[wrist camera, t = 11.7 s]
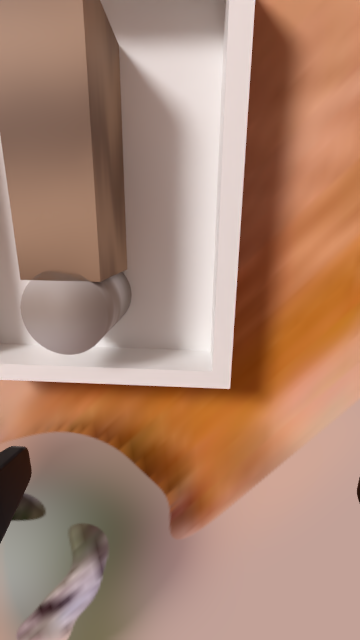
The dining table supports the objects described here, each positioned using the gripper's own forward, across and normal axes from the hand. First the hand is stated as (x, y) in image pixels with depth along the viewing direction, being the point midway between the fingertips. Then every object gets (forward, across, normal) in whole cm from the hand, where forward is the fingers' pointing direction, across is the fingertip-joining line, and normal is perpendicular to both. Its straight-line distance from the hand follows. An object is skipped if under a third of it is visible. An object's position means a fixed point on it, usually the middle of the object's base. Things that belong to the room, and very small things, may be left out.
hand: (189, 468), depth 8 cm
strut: (+11, +6, -8) cm, 15 cm away
